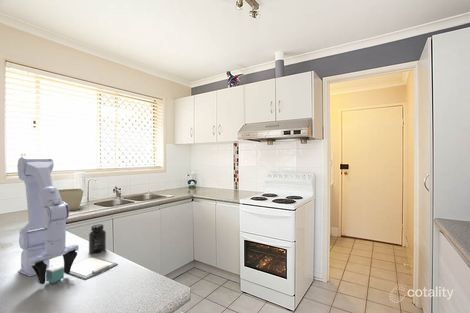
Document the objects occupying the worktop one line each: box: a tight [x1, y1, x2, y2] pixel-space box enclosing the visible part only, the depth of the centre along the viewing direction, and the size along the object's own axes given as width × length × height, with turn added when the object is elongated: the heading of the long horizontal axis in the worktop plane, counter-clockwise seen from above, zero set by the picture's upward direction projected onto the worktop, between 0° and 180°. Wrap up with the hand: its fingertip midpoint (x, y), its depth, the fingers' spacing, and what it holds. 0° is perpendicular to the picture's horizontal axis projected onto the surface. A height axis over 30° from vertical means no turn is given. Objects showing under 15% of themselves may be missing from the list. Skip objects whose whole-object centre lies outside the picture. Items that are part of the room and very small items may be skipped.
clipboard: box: [68, 256, 118, 281], centre depth 91 cm, size 16×13×1 cm
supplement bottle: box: [88, 223, 107, 255], centre depth 108 cm, size 7×7×12 cm
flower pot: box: [58, 188, 85, 212], centre depth 199 cm, size 19×19×17 cm
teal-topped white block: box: [45, 264, 65, 285], centre depth 81 cm, size 4×4×5 cm
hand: (55, 278), depth 81 cm, fingers open, 7 cm apart
